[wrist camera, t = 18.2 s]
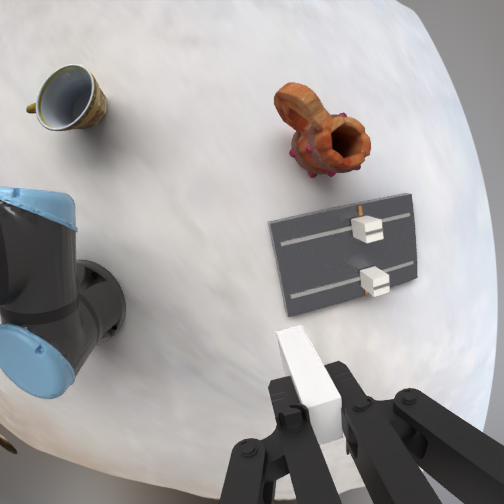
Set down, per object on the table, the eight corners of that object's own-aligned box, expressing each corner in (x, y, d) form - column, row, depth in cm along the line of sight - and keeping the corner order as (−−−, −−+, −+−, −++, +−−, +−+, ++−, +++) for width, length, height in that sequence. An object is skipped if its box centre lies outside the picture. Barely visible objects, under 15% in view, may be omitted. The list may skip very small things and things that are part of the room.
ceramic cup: (118, 77, 40) (96, 56, 30) (116, 133, 42) (92, 123, 32) (53, 92, 39) (24, 79, 29) (50, 145, 41) (18, 141, 31)
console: (285, 312, 52) (288, 317, 50) (267, 221, 48) (270, 223, 46) (411, 274, 53) (418, 278, 51) (405, 193, 49) (412, 194, 47)
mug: (347, 155, 47) (395, 148, 32) (315, 188, 47) (354, 193, 33) (285, 91, 43) (312, 57, 29) (250, 123, 44) (263, 98, 30)
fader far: (361, 286, 50) (374, 297, 45) (359, 270, 49) (373, 280, 44) (375, 282, 50) (390, 292, 45) (374, 266, 49) (389, 275, 44)
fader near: (353, 236, 48) (367, 243, 43) (350, 219, 47) (364, 223, 42) (368, 233, 48) (384, 239, 43) (366, 215, 47) (382, 219, 42)
